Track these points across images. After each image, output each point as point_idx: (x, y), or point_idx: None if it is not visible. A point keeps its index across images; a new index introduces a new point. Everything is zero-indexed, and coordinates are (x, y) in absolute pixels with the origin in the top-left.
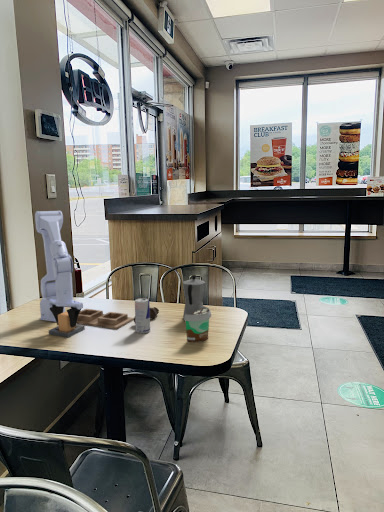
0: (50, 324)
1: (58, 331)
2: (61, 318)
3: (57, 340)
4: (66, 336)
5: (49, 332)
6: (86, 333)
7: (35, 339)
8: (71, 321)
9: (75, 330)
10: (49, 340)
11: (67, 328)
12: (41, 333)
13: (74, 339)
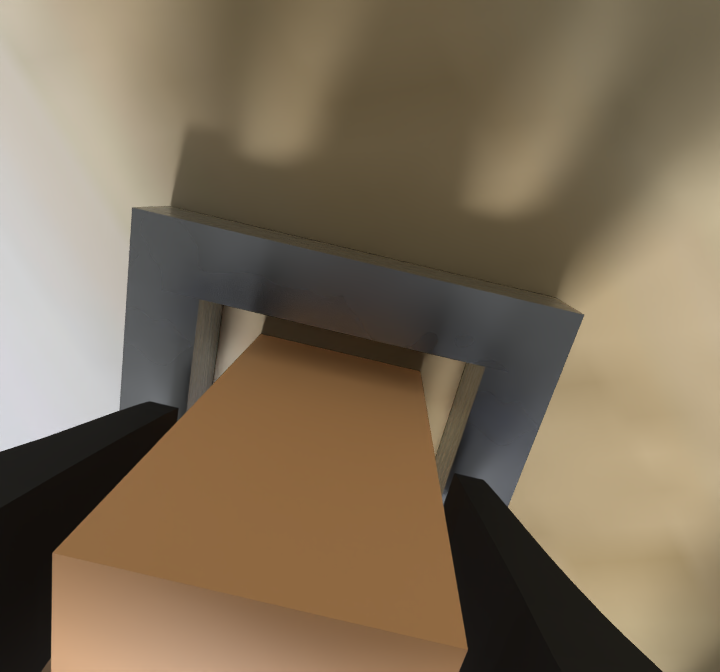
0: (697, 647)
1: (369, 288)
2: (320, 522)
3: (274, 53)
4: (199, 215)
5: (552, 303)
6: (31, 401)
7: (703, 25)
8: (38, 445)
9: (126, 385)
10: (413, 25)
11: (227, 372)
12: (700, 322)
13: (36, 150)
